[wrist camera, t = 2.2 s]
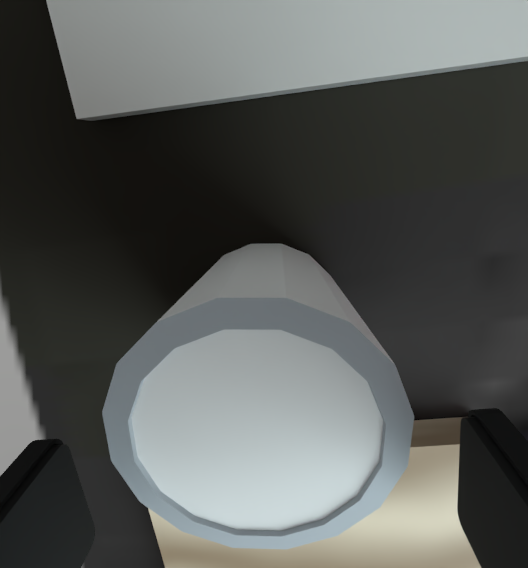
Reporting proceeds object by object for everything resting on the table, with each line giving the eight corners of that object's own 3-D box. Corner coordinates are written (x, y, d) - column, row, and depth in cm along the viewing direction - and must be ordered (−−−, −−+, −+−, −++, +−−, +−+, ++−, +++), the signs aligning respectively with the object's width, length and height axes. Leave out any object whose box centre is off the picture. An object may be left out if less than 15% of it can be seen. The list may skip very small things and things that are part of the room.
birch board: (147, 438, 17) (135, 464, 16) (474, 416, 16) (492, 442, 15) (195, 616, 21) (189, 649, 20) (461, 608, 20) (474, 643, 19)
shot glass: (170, 373, 16) (94, 529, 10) (189, 209, 14) (105, 267, 7) (333, 402, 16) (367, 576, 10) (378, 244, 14) (464, 333, 7)
